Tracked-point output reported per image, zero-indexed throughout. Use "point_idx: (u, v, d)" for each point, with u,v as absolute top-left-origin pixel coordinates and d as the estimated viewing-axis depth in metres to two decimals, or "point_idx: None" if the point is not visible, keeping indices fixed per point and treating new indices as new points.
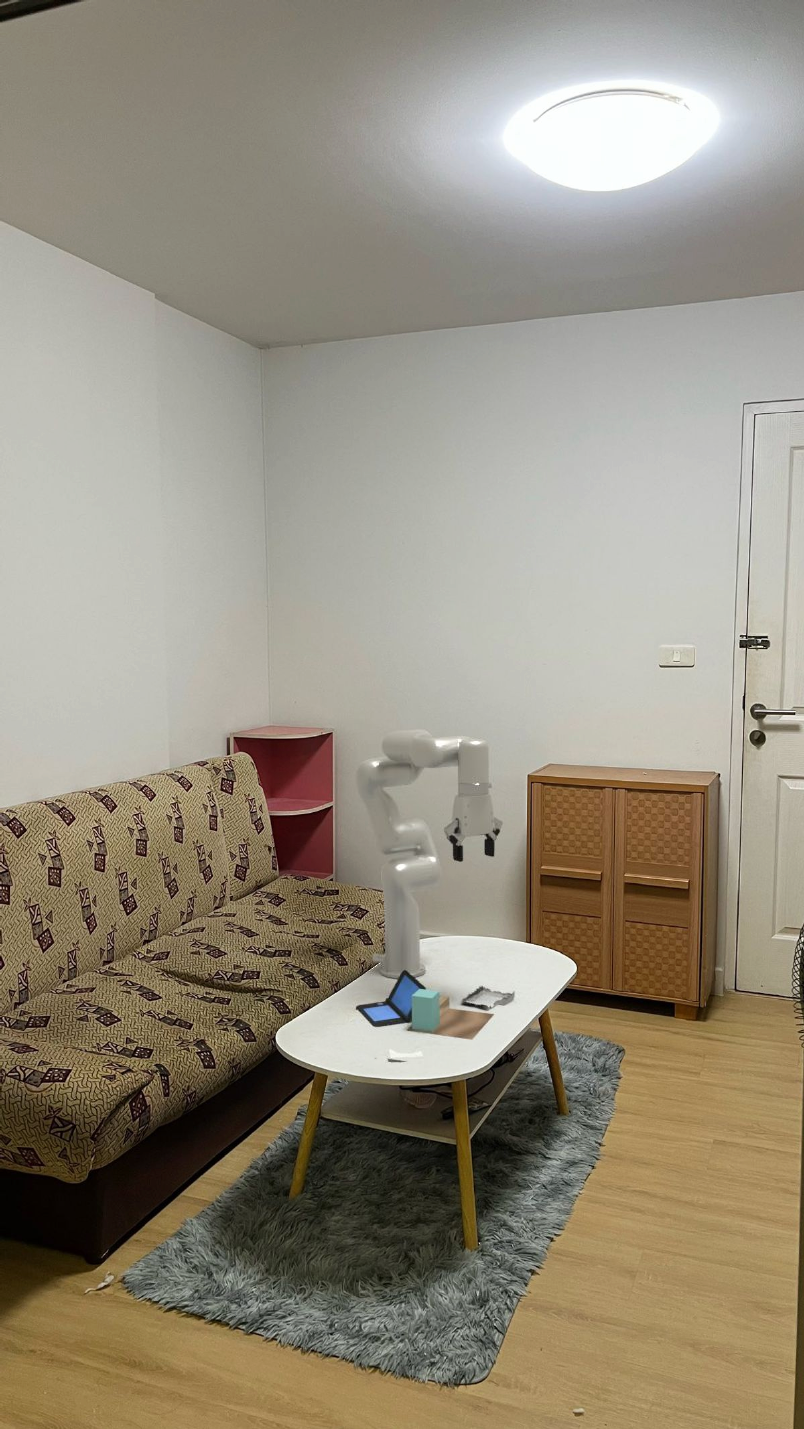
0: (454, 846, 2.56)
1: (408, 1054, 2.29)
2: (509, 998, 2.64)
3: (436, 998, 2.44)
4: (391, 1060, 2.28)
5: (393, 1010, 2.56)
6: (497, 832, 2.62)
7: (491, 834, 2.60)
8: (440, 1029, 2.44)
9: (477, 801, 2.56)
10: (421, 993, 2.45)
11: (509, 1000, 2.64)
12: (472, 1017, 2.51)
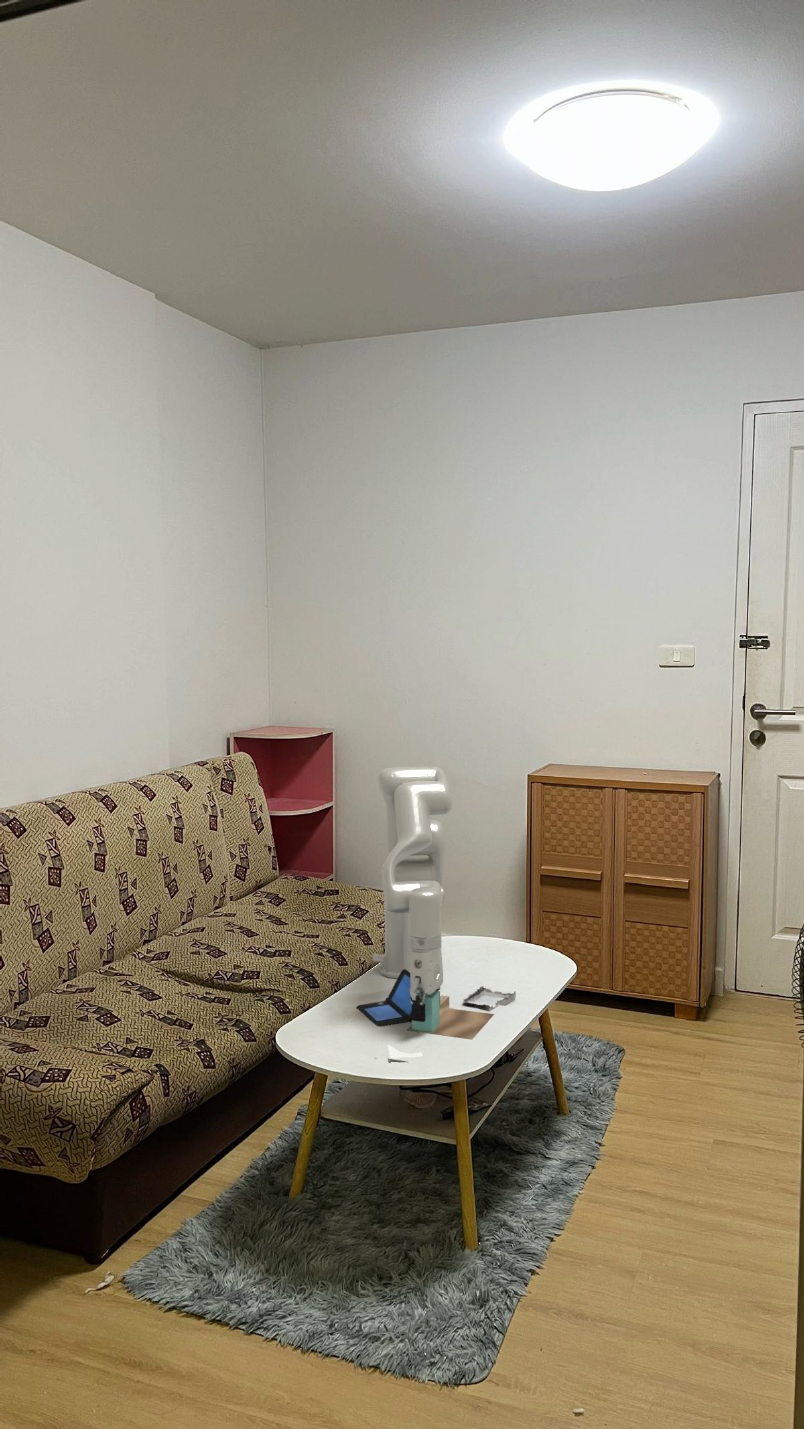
0: None
1: (408, 1054, 2.29)
2: (510, 998, 2.63)
3: (436, 998, 2.44)
4: (391, 1060, 2.27)
5: (394, 1009, 2.56)
6: None
7: None
8: (440, 1029, 2.44)
9: None
10: None
11: (510, 1000, 2.64)
12: (472, 1017, 2.51)
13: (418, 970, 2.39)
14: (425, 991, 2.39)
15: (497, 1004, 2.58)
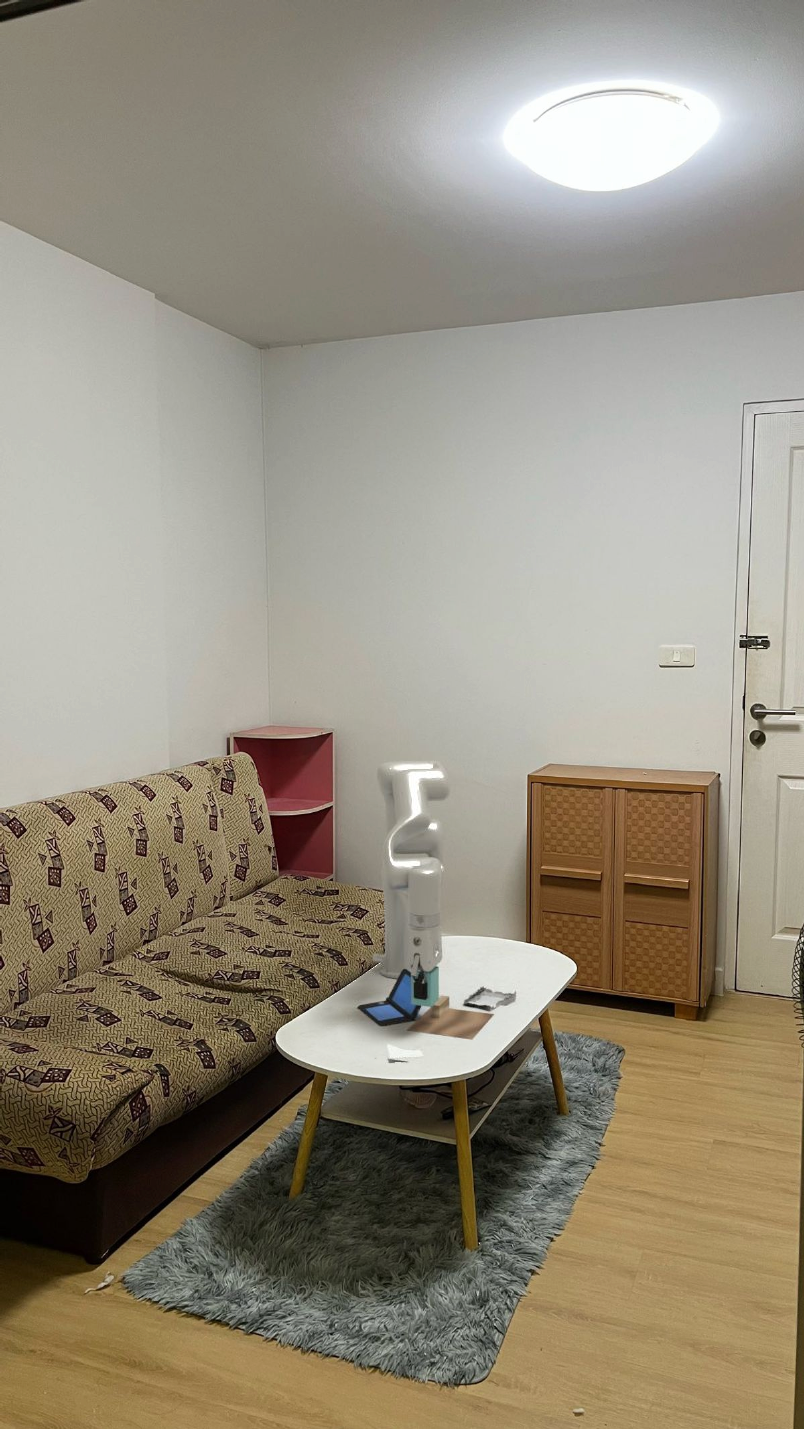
0: None
1: (408, 1054, 2.29)
2: (511, 998, 2.63)
3: (435, 973, 2.44)
4: (391, 1060, 2.27)
5: (395, 1009, 2.56)
6: None
7: None
8: (440, 1029, 2.44)
9: None
10: (420, 968, 2.45)
11: (511, 1000, 2.64)
12: (472, 1017, 2.51)
13: (417, 947, 2.40)
14: (424, 968, 2.40)
15: (498, 1004, 2.58)
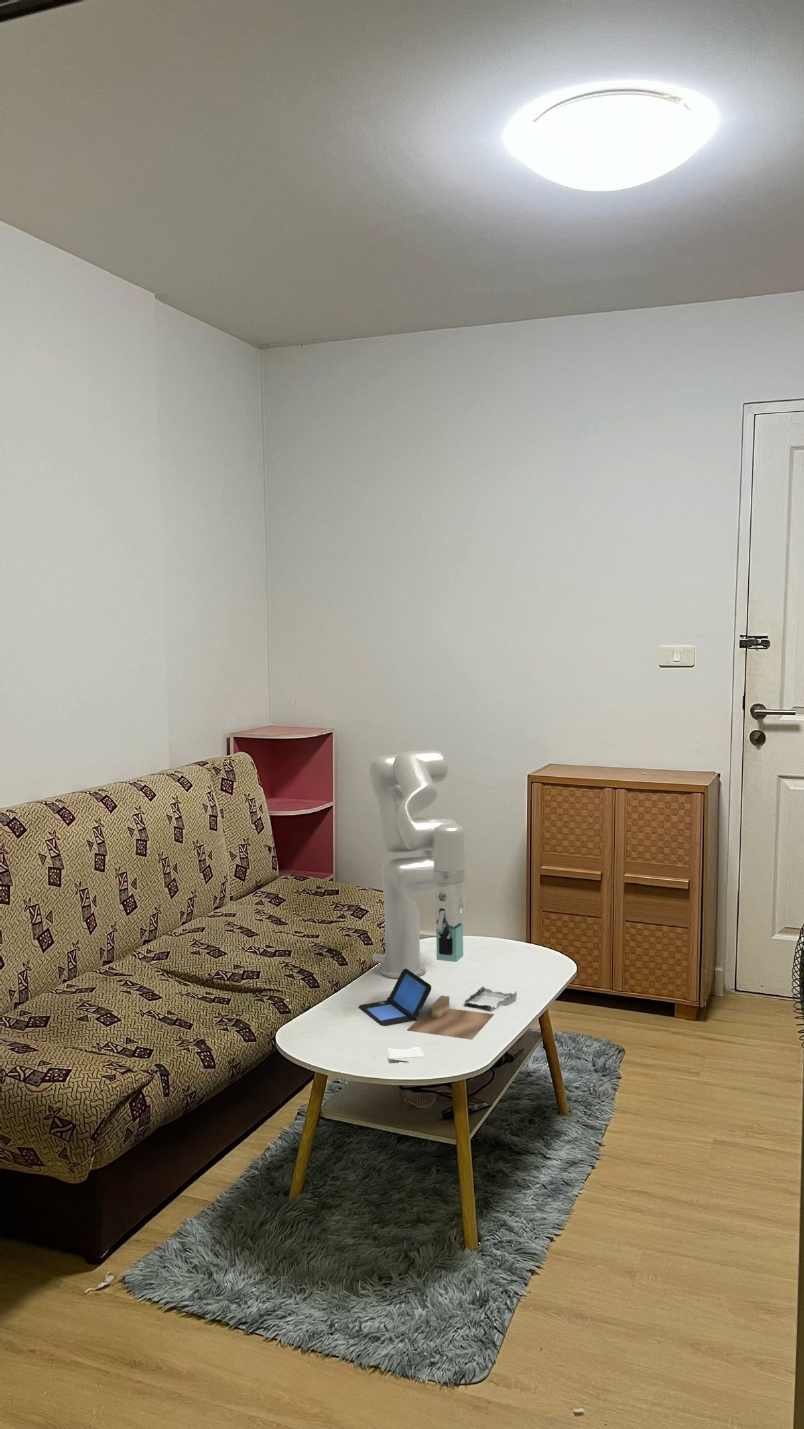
0: None
1: (408, 1054, 2.29)
2: (511, 998, 2.63)
3: (460, 929, 2.51)
4: (392, 1061, 2.27)
5: (397, 1009, 2.56)
6: None
7: None
8: (440, 1029, 2.44)
9: None
10: None
11: (511, 1000, 2.63)
12: (472, 1017, 2.51)
13: (442, 903, 2.47)
14: (449, 923, 2.47)
15: (498, 1004, 2.58)
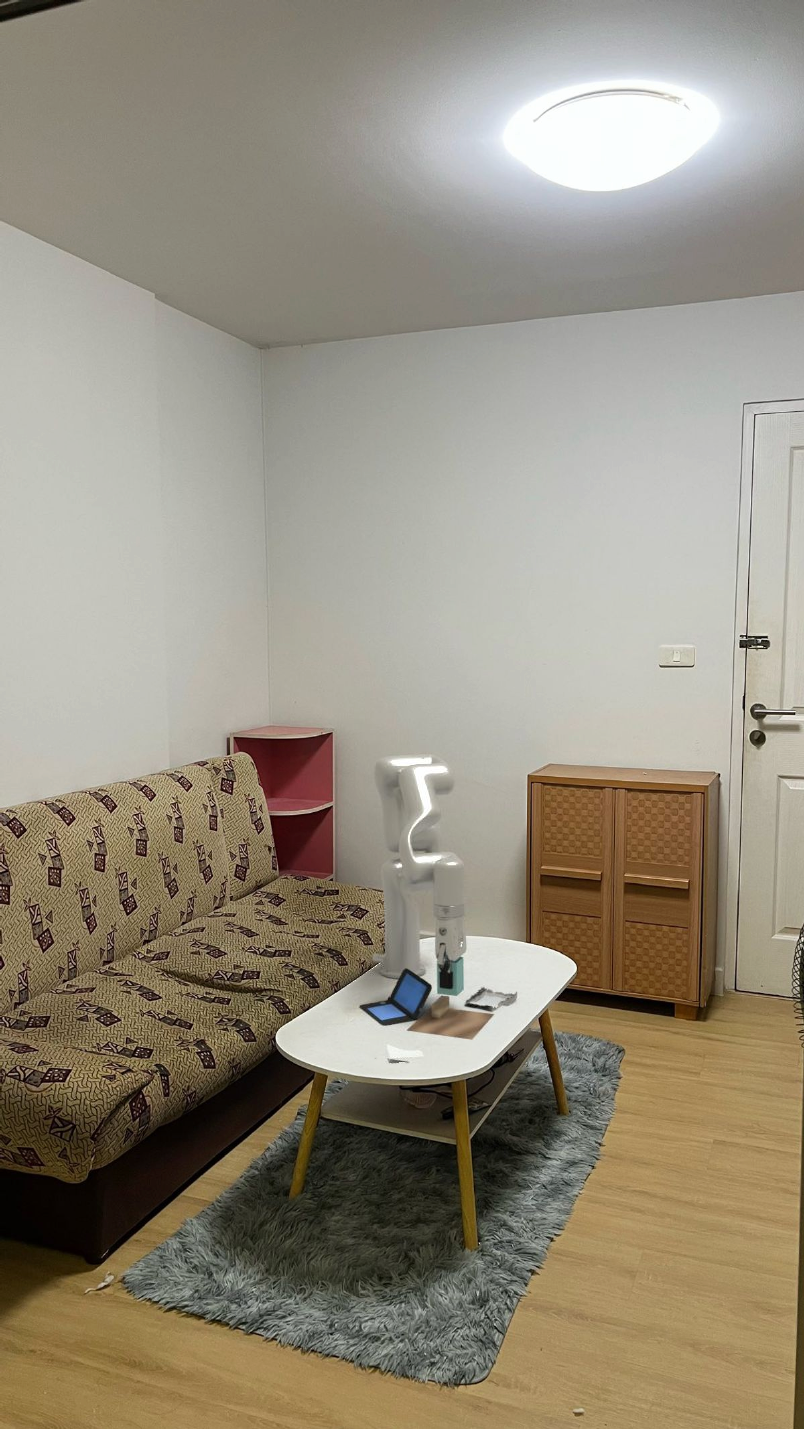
0: None
1: (408, 1054, 2.29)
2: (512, 999, 2.63)
3: (460, 963, 2.52)
4: (392, 1061, 2.27)
5: (397, 1008, 2.57)
6: None
7: None
8: (440, 1029, 2.44)
9: None
10: None
11: (512, 1001, 2.63)
12: (472, 1017, 2.51)
13: (443, 937, 2.47)
14: (450, 957, 2.47)
15: (499, 1005, 2.58)
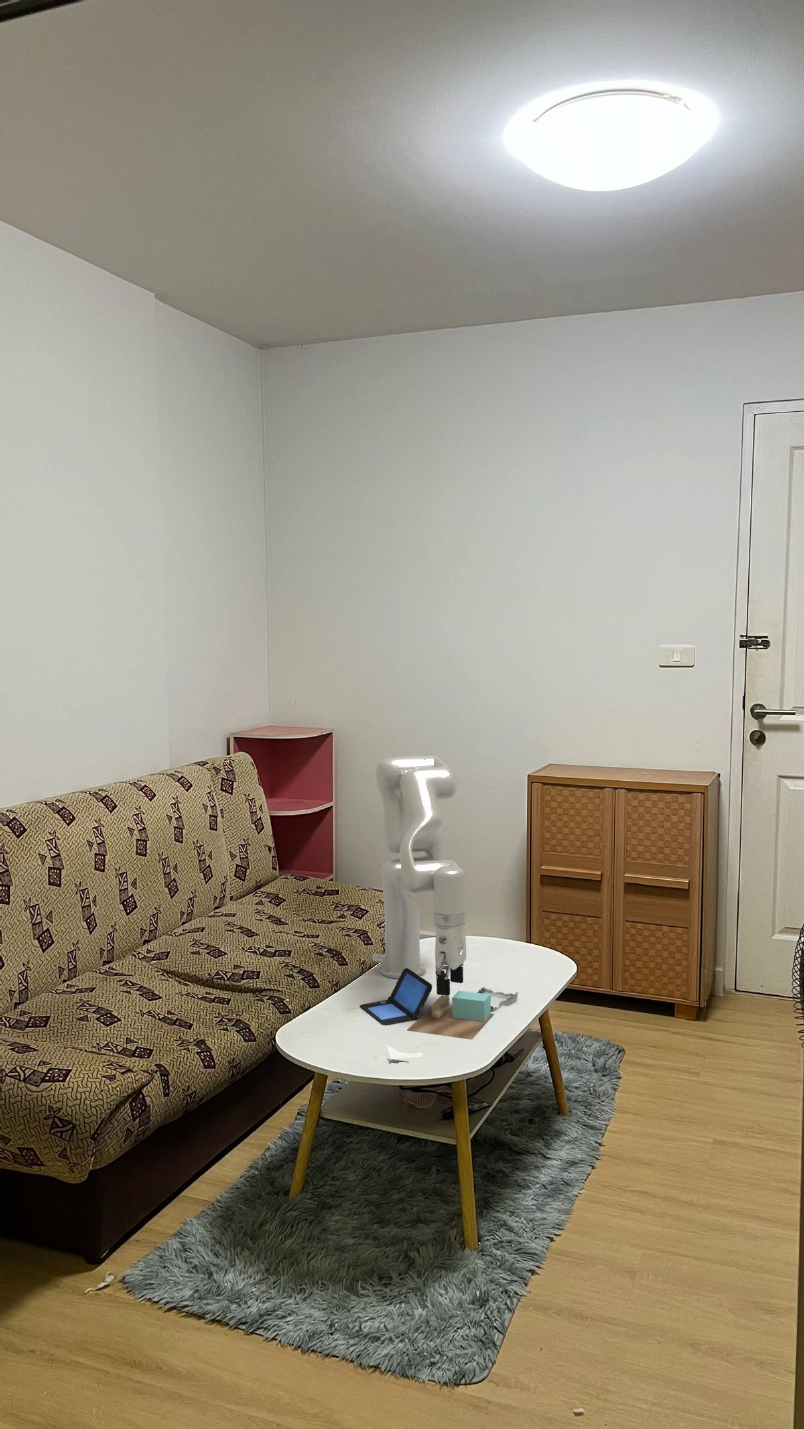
0: None
1: (408, 1055, 2.29)
2: (512, 999, 2.63)
3: None
4: (392, 1061, 2.27)
5: (398, 1008, 2.57)
6: None
7: None
8: (440, 1029, 2.44)
9: None
10: (487, 1005, 2.50)
11: (513, 1001, 2.63)
12: None
13: (443, 946, 2.48)
14: (450, 966, 2.47)
15: (500, 1005, 2.58)
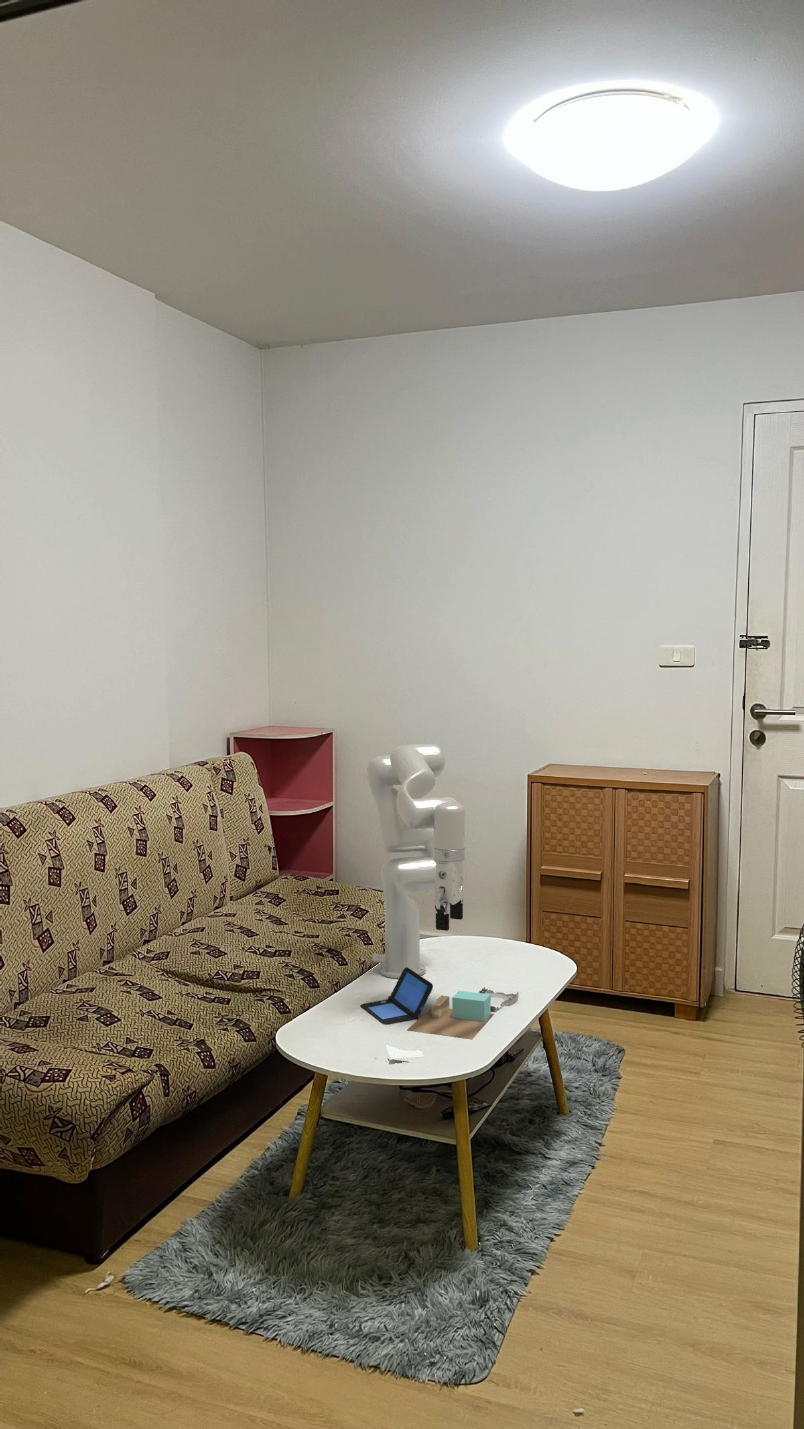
0: None
1: (409, 1055, 2.29)
2: (513, 999, 2.63)
3: None
4: (392, 1061, 2.27)
5: (398, 1007, 2.57)
6: None
7: None
8: (440, 1029, 2.44)
9: None
10: (487, 1005, 2.50)
11: (514, 1001, 2.63)
12: None
13: (442, 881, 2.48)
14: (449, 901, 2.47)
15: (502, 1005, 2.58)
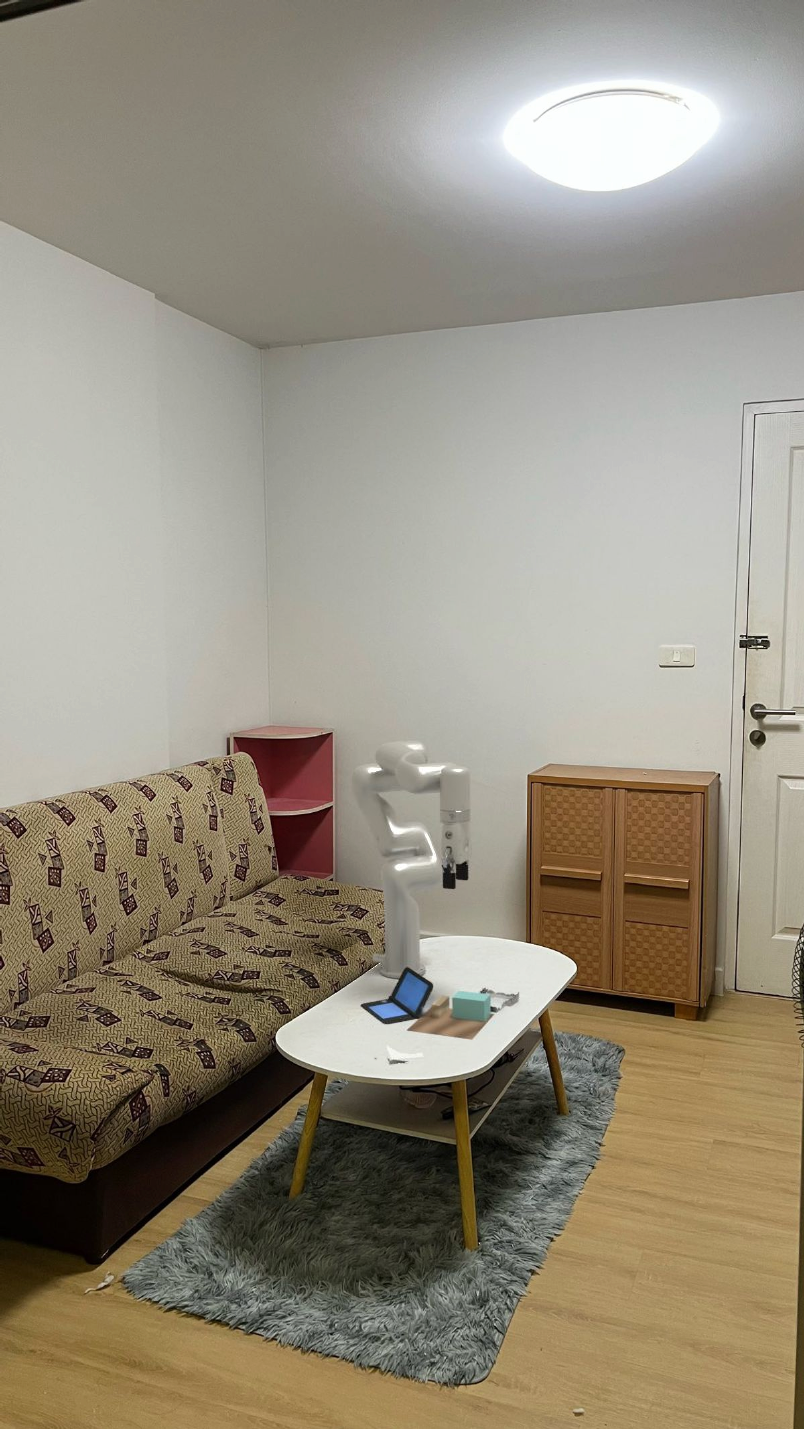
0: None
1: (409, 1055, 2.29)
2: (514, 999, 2.63)
3: None
4: (393, 1062, 2.27)
5: (399, 1007, 2.58)
6: None
7: None
8: (440, 1029, 2.44)
9: None
10: (487, 1005, 2.50)
11: (514, 1001, 2.63)
12: None
13: (449, 841, 2.56)
14: (455, 860, 2.56)
15: (503, 1005, 2.58)
